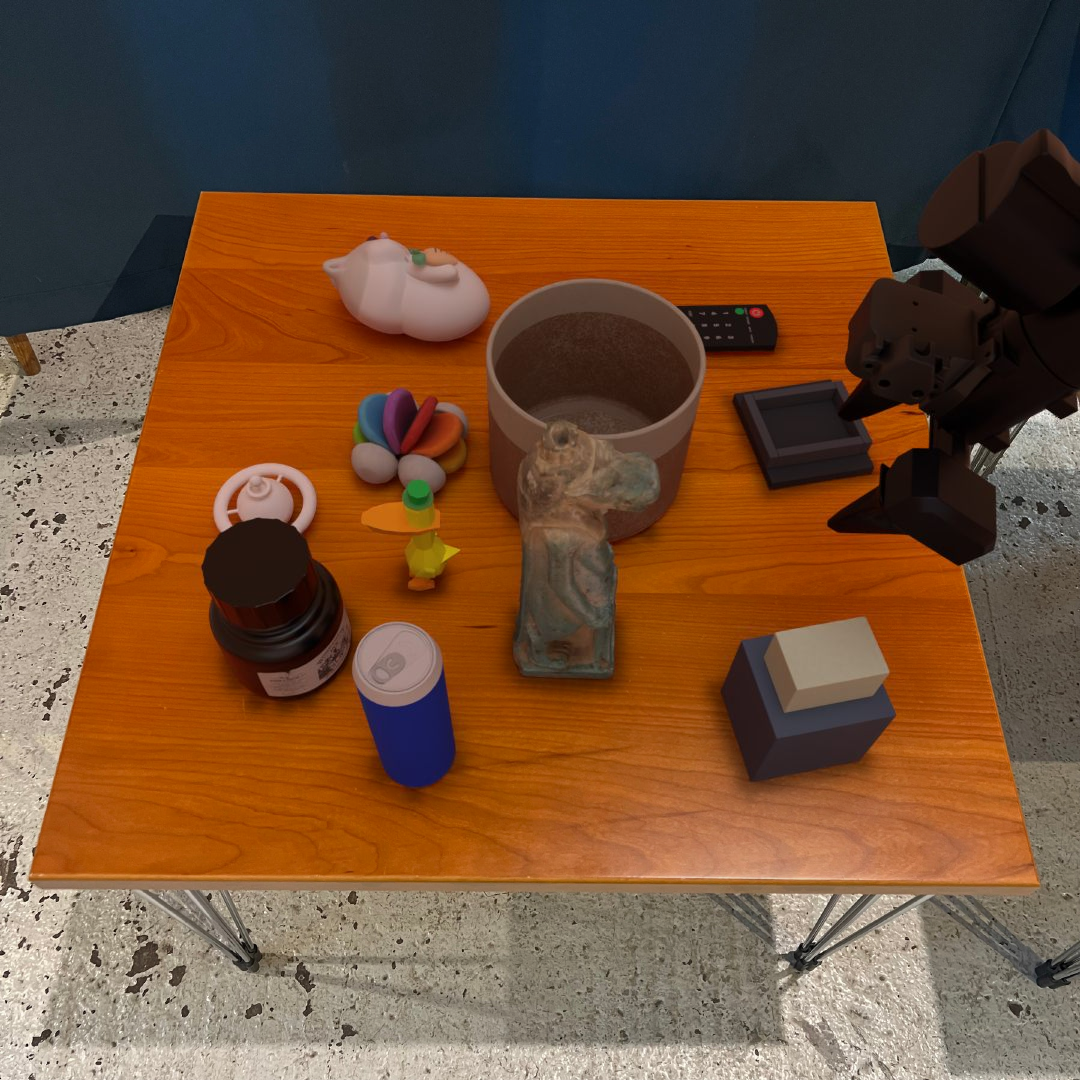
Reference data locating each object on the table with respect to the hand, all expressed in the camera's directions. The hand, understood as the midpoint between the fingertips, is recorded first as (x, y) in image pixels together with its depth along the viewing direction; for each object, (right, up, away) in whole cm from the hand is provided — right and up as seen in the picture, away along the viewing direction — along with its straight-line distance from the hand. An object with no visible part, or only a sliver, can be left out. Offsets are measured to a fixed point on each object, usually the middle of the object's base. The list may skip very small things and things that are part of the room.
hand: (837, 470), depth 63 cm
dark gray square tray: (+3, +4, +21) cm, 21 cm away
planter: (-15, +1, +19) cm, 24 cm away
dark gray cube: (-2, -18, +6) cm, 19 cm away
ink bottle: (-38, -13, +9) cm, 41 cm away
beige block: (-1, -13, 0) cm, 13 cm away
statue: (-17, -13, +9) cm, 23 cm away
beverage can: (-28, -19, +5) cm, 34 cm away
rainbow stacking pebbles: (-30, +2, +19) cm, 36 cm away
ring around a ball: (-41, -3, +15) cm, 44 cm away
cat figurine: (-31, +16, +28) cm, 45 cm away
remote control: (-10, +14, +27) cm, 32 cm away
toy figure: (-29, -8, +12) cm, 32 cm away
